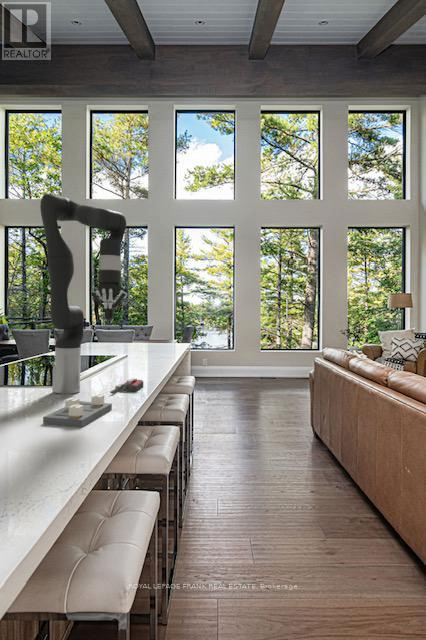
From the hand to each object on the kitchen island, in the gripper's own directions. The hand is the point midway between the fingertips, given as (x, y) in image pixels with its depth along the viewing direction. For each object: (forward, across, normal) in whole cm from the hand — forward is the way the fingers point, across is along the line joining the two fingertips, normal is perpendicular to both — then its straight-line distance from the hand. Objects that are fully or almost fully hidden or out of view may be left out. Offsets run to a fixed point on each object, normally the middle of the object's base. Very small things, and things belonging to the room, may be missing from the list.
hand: (109, 319), depth 145 cm
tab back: (+26, +2, -11) cm, 29 cm away
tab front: (+27, +2, -25) cm, 36 cm away
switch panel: (+29, -1, -18) cm, 34 cm away
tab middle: (+26, -3, -18) cm, 32 cm away
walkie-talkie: (+30, -1, +21) cm, 37 cm away
